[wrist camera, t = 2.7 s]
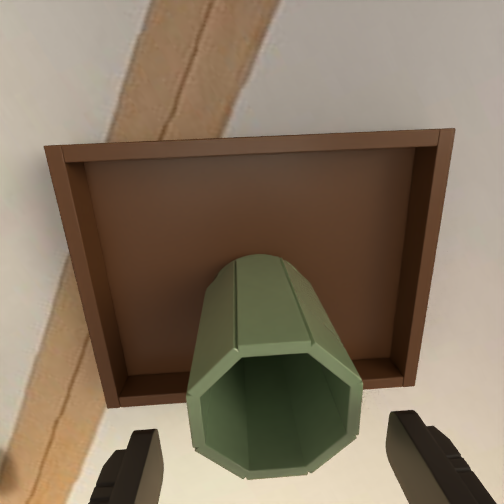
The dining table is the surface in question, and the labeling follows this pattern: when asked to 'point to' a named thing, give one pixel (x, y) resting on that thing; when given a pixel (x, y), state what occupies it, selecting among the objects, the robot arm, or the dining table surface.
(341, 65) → the dining table surface
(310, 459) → the cup
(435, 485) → the robot arm
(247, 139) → the tray
